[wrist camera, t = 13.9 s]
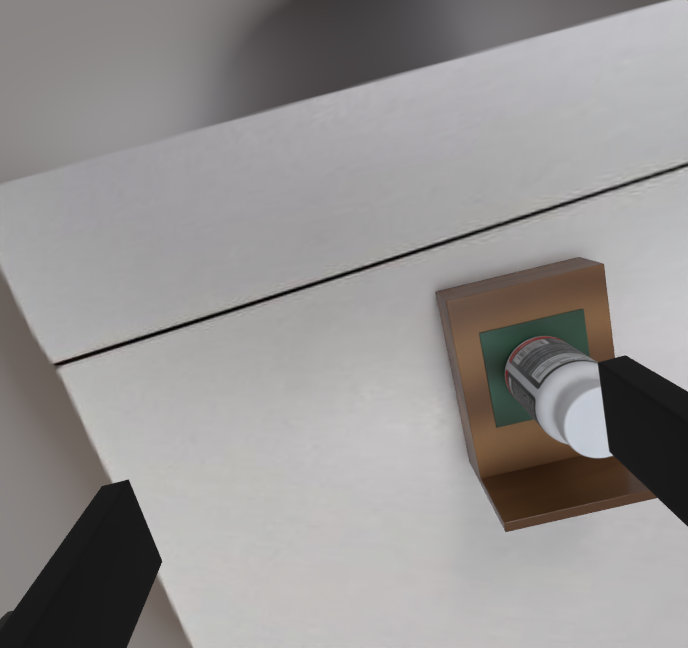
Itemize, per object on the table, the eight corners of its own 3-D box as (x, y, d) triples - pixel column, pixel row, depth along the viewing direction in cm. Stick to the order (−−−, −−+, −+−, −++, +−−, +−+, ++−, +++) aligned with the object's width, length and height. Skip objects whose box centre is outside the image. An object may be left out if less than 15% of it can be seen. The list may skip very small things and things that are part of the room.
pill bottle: (565, 408, 42) (635, 473, 33) (495, 399, 42) (545, 462, 32) (583, 338, 41) (662, 385, 31) (511, 329, 41) (568, 373, 31)
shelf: (435, 291, 44) (465, 320, 34) (579, 256, 44) (651, 276, 34) (469, 462, 48) (505, 532, 38) (602, 432, 48) (672, 494, 38)
